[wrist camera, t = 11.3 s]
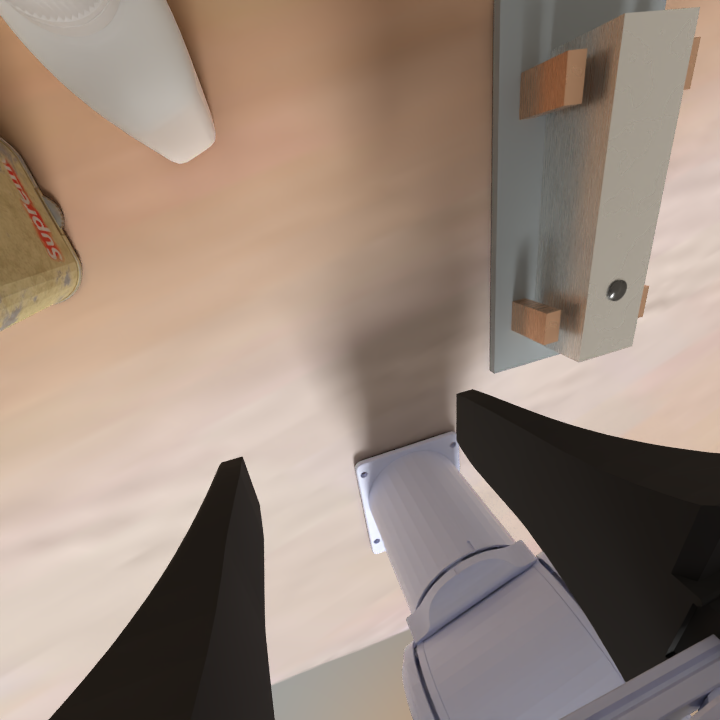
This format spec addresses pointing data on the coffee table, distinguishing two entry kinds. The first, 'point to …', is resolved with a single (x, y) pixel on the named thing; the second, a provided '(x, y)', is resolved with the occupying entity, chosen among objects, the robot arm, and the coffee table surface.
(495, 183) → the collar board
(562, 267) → the silver long block
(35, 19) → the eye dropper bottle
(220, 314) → the coffee table surface
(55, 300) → the lighter
